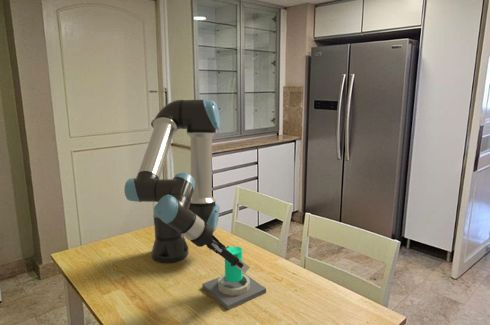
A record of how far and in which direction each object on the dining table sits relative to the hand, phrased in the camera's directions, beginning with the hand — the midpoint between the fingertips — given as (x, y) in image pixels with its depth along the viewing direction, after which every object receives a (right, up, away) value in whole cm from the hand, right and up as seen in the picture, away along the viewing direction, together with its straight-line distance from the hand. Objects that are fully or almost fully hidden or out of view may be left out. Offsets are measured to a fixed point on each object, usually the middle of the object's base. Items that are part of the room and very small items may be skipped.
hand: (243, 265), depth 124 cm
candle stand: (-3, -8, 0) cm, 9 cm away
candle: (-3, -4, -1) cm, 5 cm away
